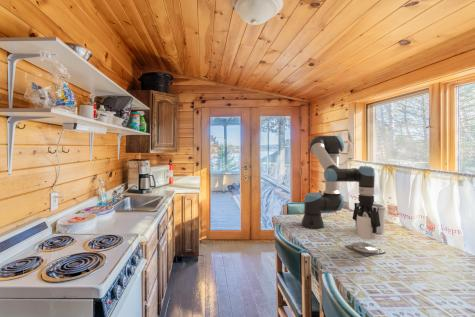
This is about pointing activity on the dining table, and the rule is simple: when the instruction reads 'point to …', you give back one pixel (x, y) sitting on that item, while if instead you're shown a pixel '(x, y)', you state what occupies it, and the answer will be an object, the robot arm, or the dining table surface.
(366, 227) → the cup
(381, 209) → the utensil holder
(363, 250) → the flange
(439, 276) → the dining table surface
